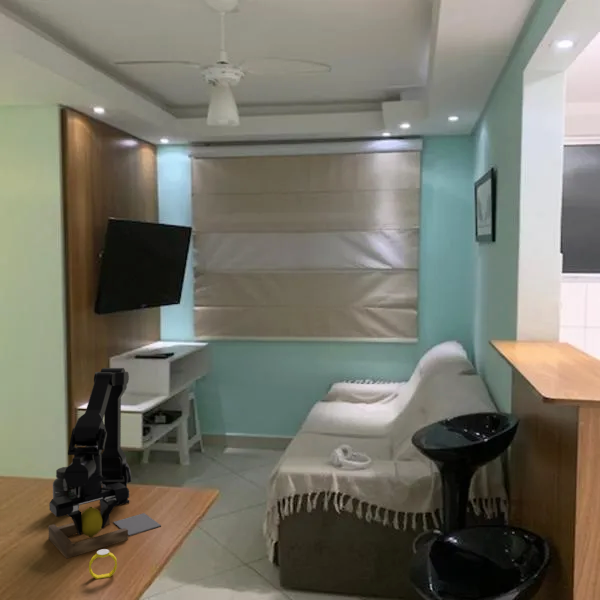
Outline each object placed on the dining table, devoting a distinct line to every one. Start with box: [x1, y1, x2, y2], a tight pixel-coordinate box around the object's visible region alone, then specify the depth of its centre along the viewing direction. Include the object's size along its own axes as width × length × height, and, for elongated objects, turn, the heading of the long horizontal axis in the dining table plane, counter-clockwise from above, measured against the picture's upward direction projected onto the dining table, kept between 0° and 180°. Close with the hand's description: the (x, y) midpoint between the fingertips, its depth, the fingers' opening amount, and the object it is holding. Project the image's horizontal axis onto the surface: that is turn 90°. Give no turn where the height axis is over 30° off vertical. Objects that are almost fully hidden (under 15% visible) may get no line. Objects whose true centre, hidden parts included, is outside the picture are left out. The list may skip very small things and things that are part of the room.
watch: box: [88, 548, 118, 580], centre depth 138 cm, size 6×3×6 cm, turn 109°
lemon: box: [81, 506, 102, 539], centre depth 157 cm, size 6×6×8 cm
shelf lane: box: [47, 514, 129, 559], centre depth 156 cm, size 16×13×4 cm
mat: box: [113, 512, 162, 537], centre depth 165 cm, size 9×10×1 cm
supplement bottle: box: [52, 466, 80, 510], centre depth 173 cm, size 7×7×12 cm
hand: (91, 531), depth 157 cm, fingers closed on lemon, 5 cm apart
